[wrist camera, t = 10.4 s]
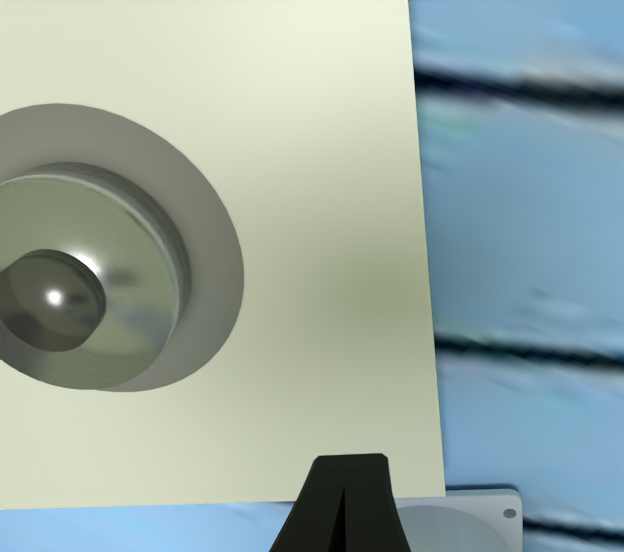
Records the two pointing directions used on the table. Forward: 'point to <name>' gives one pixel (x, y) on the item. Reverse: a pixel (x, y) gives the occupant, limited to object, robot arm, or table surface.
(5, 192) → the dial
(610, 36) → the table surface
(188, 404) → the panel
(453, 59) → the table surface
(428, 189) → the table surface
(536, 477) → the table surface
